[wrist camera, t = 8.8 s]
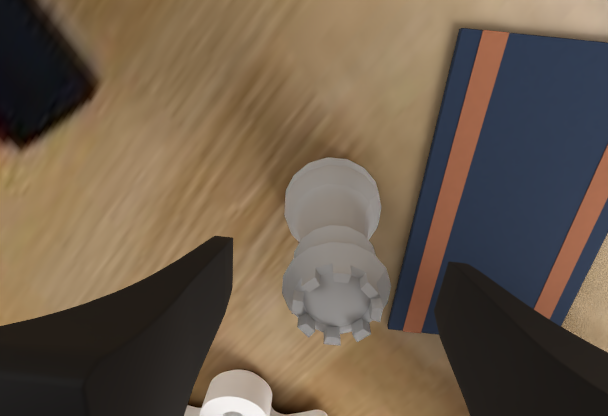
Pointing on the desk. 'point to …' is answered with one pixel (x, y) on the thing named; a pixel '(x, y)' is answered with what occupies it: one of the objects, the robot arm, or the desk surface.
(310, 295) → the rook chess piece
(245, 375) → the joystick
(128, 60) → the desk surface
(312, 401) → the desk surface
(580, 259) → the cloth
